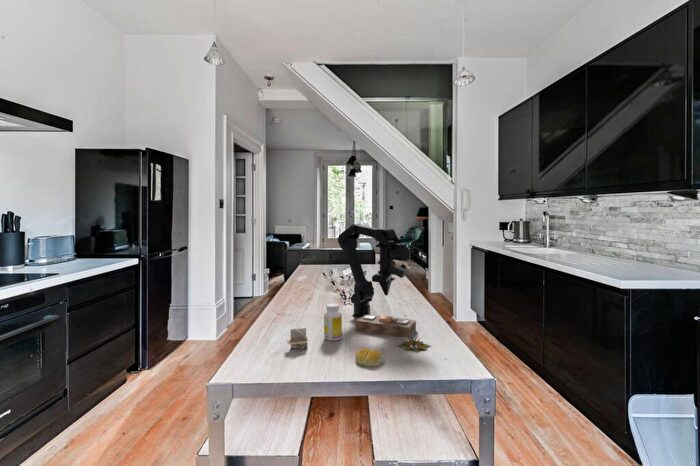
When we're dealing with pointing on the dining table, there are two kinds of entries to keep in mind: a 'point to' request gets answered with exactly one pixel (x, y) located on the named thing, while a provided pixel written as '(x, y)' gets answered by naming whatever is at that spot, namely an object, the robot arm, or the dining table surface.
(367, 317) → the grey cube
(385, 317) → the orange cube
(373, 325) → the console
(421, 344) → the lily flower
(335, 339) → the supplement bottle
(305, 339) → the architectural model
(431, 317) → the dining table surface
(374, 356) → the bread roll
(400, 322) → the grey block
